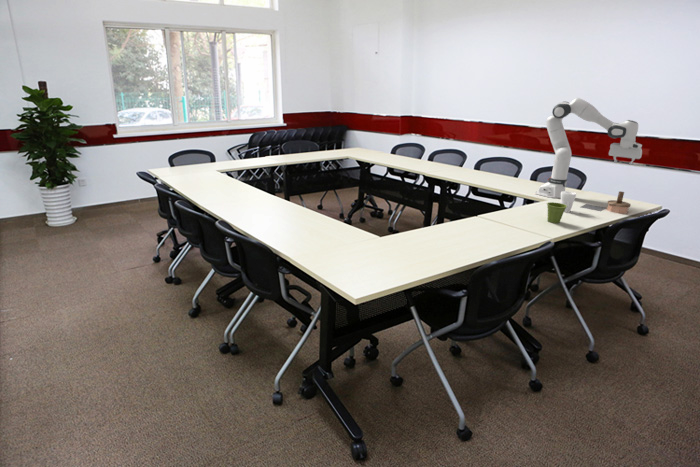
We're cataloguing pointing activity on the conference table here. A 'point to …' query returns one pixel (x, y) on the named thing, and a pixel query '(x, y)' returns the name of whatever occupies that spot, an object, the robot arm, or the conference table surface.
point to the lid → (619, 201)
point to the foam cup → (567, 199)
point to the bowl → (617, 209)
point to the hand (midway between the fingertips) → (622, 163)
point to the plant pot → (555, 211)
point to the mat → (593, 207)
